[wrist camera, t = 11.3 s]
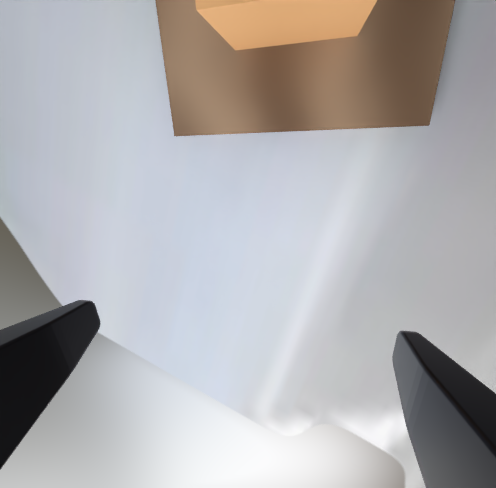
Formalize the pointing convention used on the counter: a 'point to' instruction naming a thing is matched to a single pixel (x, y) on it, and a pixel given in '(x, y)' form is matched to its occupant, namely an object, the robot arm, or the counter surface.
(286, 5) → the peach wooden cube
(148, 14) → the counter surface
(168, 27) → the post board
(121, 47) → the counter surface
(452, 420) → the robot arm
